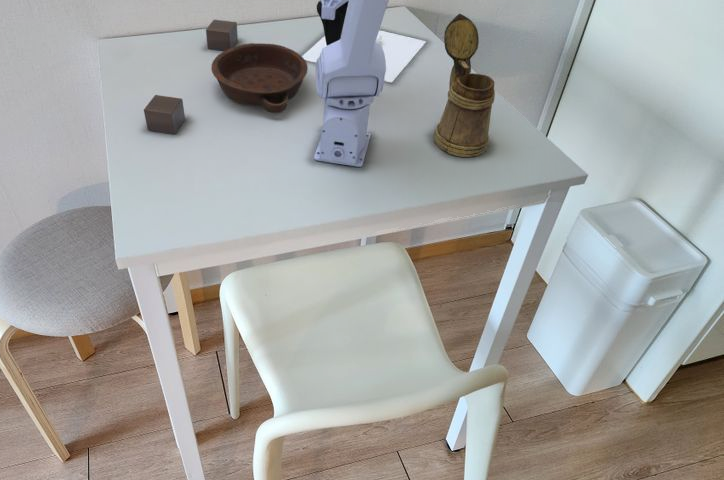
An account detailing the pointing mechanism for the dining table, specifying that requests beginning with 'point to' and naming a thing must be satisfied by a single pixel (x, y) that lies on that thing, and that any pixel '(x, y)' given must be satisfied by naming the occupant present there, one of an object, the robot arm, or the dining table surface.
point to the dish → (260, 74)
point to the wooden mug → (465, 95)
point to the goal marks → (170, 110)
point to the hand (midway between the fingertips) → (333, 43)
